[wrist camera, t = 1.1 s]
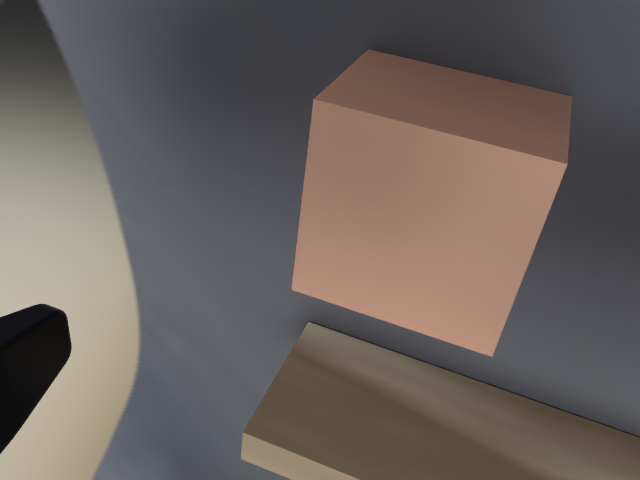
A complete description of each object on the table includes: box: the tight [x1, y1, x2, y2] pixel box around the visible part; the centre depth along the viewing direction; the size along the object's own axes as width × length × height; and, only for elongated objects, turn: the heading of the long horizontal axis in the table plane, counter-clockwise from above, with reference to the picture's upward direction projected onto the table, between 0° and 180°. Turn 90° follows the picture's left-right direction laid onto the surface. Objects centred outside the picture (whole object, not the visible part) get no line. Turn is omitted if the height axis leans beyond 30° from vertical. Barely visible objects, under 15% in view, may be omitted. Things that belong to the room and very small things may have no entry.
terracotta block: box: [292, 49, 572, 357], centre depth 15 cm, size 5×5×4 cm
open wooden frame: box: [241, 322, 640, 480], centre depth 13 cm, size 16×14×5 cm
